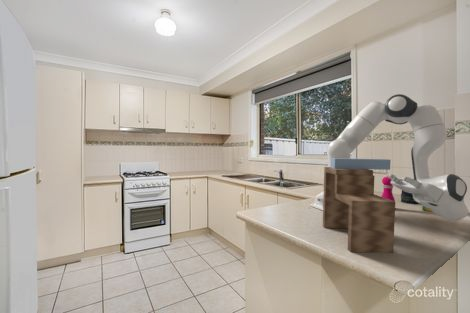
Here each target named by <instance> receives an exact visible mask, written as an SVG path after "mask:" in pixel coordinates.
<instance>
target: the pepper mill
mask: <svg viewBox="0 0 470 313" xmlns="http://www.w3.org/2000/svg"><path fill="white" fill-rule="evenodd" d="M390 174H391V173H388V174H387V173H386V176H385V177H382V180H381V183H382V184H383V185H382V187H383V192H382V194H381V196H380V197H383V198H386V199H389V200H392V201H395V197H394V194H393V188H394V186H393V185H392V184H391V181H392V180H391V179H390V178H388V176H389V175H390ZM395 202H396V201H395Z"/></svg>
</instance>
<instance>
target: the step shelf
mask: <svg viewBox="0 0 470 313" xmlns="http://www.w3.org/2000/svg"><path fill="white" fill-rule="evenodd" d="M323 170H324V172H323V175H324V176H323V186H324V187H323V191H324V198H323V210H322V227H323V229H348V230H347V231H348V232H347V233H348V234H347V250H348V251H349V252H350V253H383V254H384V253H386V254H388V253H390V254H393V253H394V245H395V244H394V243H395V242H394V241H395V240H394V239H395V224H396V223H395V220H396V219H395V218H396V201H392V200H389V199H386V198H383V197H381V196H380V195H376V194H375V177H376V176H375V175H374V169H334V168H331V167H328V166H324V168H323Z"/></svg>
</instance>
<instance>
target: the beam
mask: <svg viewBox="0 0 470 313" xmlns="http://www.w3.org/2000/svg"><path fill="white" fill-rule="evenodd" d="M331 168H334V169H368V170H379V171H380V170H390V171H391V159H386V158H350V159H345V158H331Z"/></svg>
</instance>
